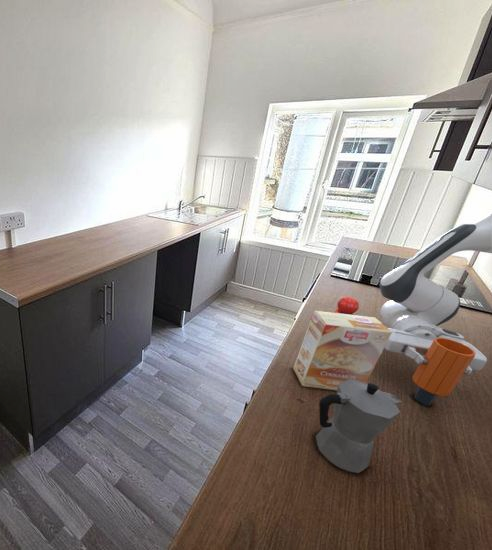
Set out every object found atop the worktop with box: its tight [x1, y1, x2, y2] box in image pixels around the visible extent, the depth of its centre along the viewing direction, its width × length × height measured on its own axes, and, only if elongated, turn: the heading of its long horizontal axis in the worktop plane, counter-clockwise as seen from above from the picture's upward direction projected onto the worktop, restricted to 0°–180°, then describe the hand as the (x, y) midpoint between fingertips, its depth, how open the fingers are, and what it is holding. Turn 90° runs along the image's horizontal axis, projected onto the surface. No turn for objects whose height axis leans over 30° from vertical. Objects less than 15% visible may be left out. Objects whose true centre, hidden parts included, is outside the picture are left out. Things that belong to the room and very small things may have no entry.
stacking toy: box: [333, 296, 360, 315], centre depth 90 cm, size 8×8×19 cm
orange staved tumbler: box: [411, 337, 475, 397], centre depth 71 cm, size 7×7×12 cm
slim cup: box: [413, 386, 438, 406], centre depth 74 cm, size 3×3×10 cm
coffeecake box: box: [292, 310, 392, 391], centre depth 76 cm, size 15×7×20 cm, turn 82°
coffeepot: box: [315, 379, 402, 474], centre depth 58 cm, size 15×9×18 cm, turn 93°
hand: (445, 367), depth 70 cm, fingers closed on orange staved tumbler, 7 cm apart
